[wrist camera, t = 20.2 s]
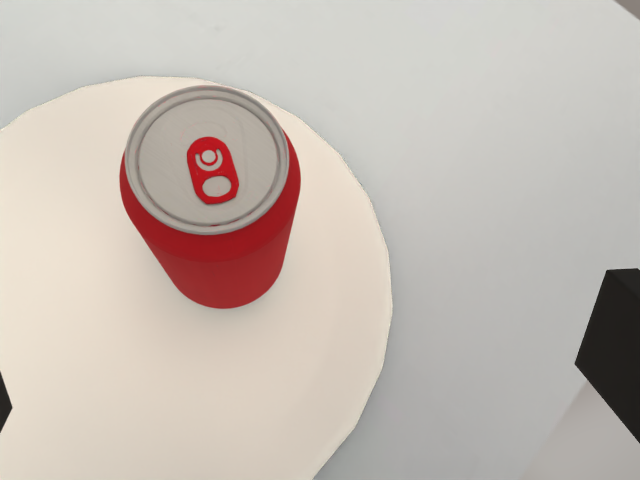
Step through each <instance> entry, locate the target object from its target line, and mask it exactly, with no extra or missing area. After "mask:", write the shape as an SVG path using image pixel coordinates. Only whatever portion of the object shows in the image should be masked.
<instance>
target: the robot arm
mask: <svg viewBox="0 0 640 480" xmlns="http://www.w3.org/2000/svg"><path fill="white" fill-rule="evenodd" d="M575 365H576V366H577V367H578V369H579V370H580V371H581V372H582V373H583V375H584V376H585V377H586V378H587V380H588V381H589V382H590V383H591V384H592V386H593V387H594V388H595V389H596V391H597V392H598V393H599V394H600V395H601V397H602V398H603V399H604V400H605V402H606V403H607V404H608V405H609V406H610V408H611V409H612V410H613V411H614V413H615V414H616V415H617V416H618V417H619V419H620V420H621V421H622V422H623V423H624V425H625V426H626V427H627V428H628V430H629V431H630V432H631V433H632V434H633V436H634V437H635V438H636V439H637V441H638V442H639V443H640V270H639V269H638V268H635V269H615V270H607V271H606V273H605V276H604V279H603V282H602V285H601V288H600V291H599V294H598V297H597V300H596V303H595V305H594V308H593V311H592V314H591V317H590V320H589V323H588V326H587V329H586V332H585V335H584V338H583V340H582V343H581V346H580V349H579V352H578V355H577V358H576V361H575ZM12 408H13V407H12V404H11V401H10V398H9V395H8V392H7V389H6V386H5V383H4V380H3V378H2V375H1V372H0V433H1V431H2V429H3V427H4V424H5V422H6V420H7V418H8V416H9V414H10V412H11V410H12Z"/></svg>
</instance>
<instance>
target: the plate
mask: <svg viewBox="0 0 640 480" xmlns="http://www.w3.org/2000/svg"><path fill="white" fill-rule="evenodd" d="M197 85H216V86H223V87H228V88H232V89H235V90H238V91H241V92H243V93H245V94H247V95H249V96H251V97H252V98H254V99H256V100H257V101H259V102H260V103H261V104H262V105H263V106H265V107H266V108H267V109H268V110H269V111H270V112H271V113H272V115H273V116H274V117H275V118H276V120H277V121H278V123H279V124H280V126H281V127H282V129H283V130H284V131H285V133H286V134H287V136H288V137H289V139H290V141H291V143H292V145H293V147H294V149H295V151H296V154H297V158H298V161H299V166H300V173H301V187H300V194H299V198H298V203H297V207H296V211H295V216H294V220H293V224H292V228H291V233H290V237H289V241H288V245H287V250H286V254H285V258H284V262H283V266H282V269H281V272H280V274H279V276H278V278H277V280H276V281H275V283H274V284H273V285H272V287H271V288H270V289H269V290H268V291H267V292H266V293H265V294H263V295H262V296H261V297H260V298H258V299H256V300H255V301H253V302H251V303H249V304H246V305H244V306H241V307H236V308H230V309H217V308H210V307H206V306H203V305H200V304H198V303H196V302H194V301H192V300H190V299H189V298H187V297H186V296H185V295H183V294H182V293H181V292H180V291H179V290H178V289H177V287H176V286H175V285H174V284H173V282H172V281H171V279H170V278H169V276H168V275H167V273H166V272H165V270H164V269H163V267H162V266H161V264H160V263H159V261H158V260H157V258H156V257H155V256H154V254H153V253H152V251H151V250H150V248H149V247H148V245H147V244H146V242H145V241H144V239H143V238H142V236H141V235H140V233H139V232H138V230H137V229H136V227H135V226H134V225H133V223H132V222H131V220H130V218H129V216H128V214H127V212H126V210H125V208H124V205H123V202H122V198H121V193H120V182H119V174H120V165H121V160H122V156H123V153H124V151H125V148H126V144H127V140H128V137H129V134H130V132H131V130H132V128H133V126H134V124H135V123H136V121H137V119H138V118H139V117H140V116H141V114H142V113H143V112H144V111H145V110H146V109H147V108H148V107H149V106H150V105H151V104H152V103H154V102H155V101H157V100H158V99H160V98H161V97H163V96H165V95H167V94H169V93H171V92H174V91H176V90H179V89H183V88H187V87H191V86H197ZM392 312H393V302H392V289H391V277H390V265H389V253H388V249H387V246H386V243H385V240H384V237H383V235H382V232H381V229H380V226H379V223H378V221H377V218H376V215H375V212H374V209H373V206H372V204H371V201H370V198H369V197H368V195H367V194H366V192H365V191H364V189H363V188H362V186H361V185H360V184H359V182H358V181H357V179H356V178H355V176H354V175H353V173H352V172H351V170H350V169H349V167H348V166H347V164H346V163H345V161H344V160H343V158H342V157H341V155H340V154H339V153H338V152H337V151H336V150H335V149H334V148H332V147H331V146H330V145H329V144H328V143H327V142H326V141H325V140H323V139H322V138H321V137H320V136H319V135H318V134H317V133H316V132H315V131H313V130H312V129H311V128H310V127H309V126H308V125H307V124H306V123H304V122H303V121H302V120H301V119H300V118H299V117H297V116H295V115H293V114H291V113H289V112H287V111H286V110H284V109H282V108H280V107H278V106H276V105H274V104H272V103H271V102H269V101H267V100H265V99H263V98H261V97H259V96H257V95H256V94H254V93H252V92H249V91H245V90H241V89H237V88H234V87H230V86H226V85H222V84H219V83H215V82H211V81H207V80H204V79H200V78H186V77H158V76H137V77H132V78H127V79H121V80H116V81H110V82H105V83H100V84H94V85H89V86H84V87H81V88H79V89H76V90H74V91H72V92H69V93H67V94H65V95H62V96H60V97H57V98H55V99H53V100H50V101H48V102H46V103H43V104H41V105H39V106H36V107H34V108H32V109H29V110H27V111H26V112H24V113H23V114H22V115H20V116H19V117H18V118H16V119H15V120H13V121H12V122H11V123H9V124H8V125H7V126H5V127H4V128H2V129H1V130H0V372H1V375H2V378H3V380H4V383H5V386H6V389H7V392H8V395H9V398H10V401H11V404H12V407H13V408H12V410H11V412H10V414H9V416H8V418H7V420H6V422H5V424H4V427H3V429H2V431H1V433H0V480H312V479H313V478H314V476H315V475H316V474H317V473H318V471H319V470H320V469H321V468H322V467H323V465H324V464H325V463H326V462H327V461H328V459H329V458H330V457H331V456H332V455H333V453H334V452H335V451H336V450H337V449H338V447H339V446H340V445H341V444H342V442H343V441H344V440H345V439H346V438H347V436H348V435H349V434H350V433H351V432H352V430H353V429H354V428H355V427H356V425H357V422H358V420H359V418H360V416H361V414H362V412H363V409H364V407H365V405H366V403H367V401H368V399H369V396H370V394H371V392H372V390H373V388H374V386H375V384H376V381H377V379H378V377H379V375H380V373H381V371H382V368H383V363H384V357H385V351H386V346H387V340H388V335H389V329H390V323H391V318H392Z"/></svg>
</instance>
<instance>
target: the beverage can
mask: <svg viewBox="0 0 640 480" xmlns="http://www.w3.org/2000/svg"><path fill="white" fill-rule="evenodd" d="M119 182H120V193H121V198H122V202H123V205H124V208H125V210H126V212H127V214H128V216H129V218H130V220H131V222H132V223H133V225H134V226H135V227H136V229H137V230H138V232H139V233H140V235H141V236H142V238H143V239H144V241H145V242H146V244H147V245H148V247H149V248H150V250H151V251H152V253H153V254H154V256H155V257H156V258H157V260H158V261H159V263H160V264H161V266H162V267H163V269H164V270H165V272H166V273H167V275H168V276H169V278H170V279H171V281H172V282H173V284H174V285H175V286H176V287H177V289H178V290H179V291H180V292H181V293H182V294H183V295H185V296H186V297H187V298H189V299H190V300H192V301H194V302H196V303H198V304H200V305H203V306H206V307H210V308H217V309H230V308H236V307H241V306H244V305H246V304H249V303H251V302H253V301H255V300H256V299H258V298H260V297H261V296H262V295H263V294H265V293H266V292H267V291H268V290H269V289H270V288H271V287H272V285H273V284H274V283H275V281H276V280H277V278H278V276H279V274H280V272H281V269H282V266H283V262H284V258H285V254H286V250H287V245H288V241H289V237H290V233H291V228H292V224H293V220H294V216H295V211H296V207H297V203H298V198H299V194H300V187H301V173H300V166H299V161H298V158H297V154H296V151H295V149H294V147H293V145H292V143H291V141H290V139H289V137H288V136H287V134H286V133H285V131H284V130H283V129H282V127H281V126H280V124H279V123H278V121H277V120H276V118H275V117H274V116H273V115H272V113H271V112H270V111H269V110H268V109H267V108H266V107H265V106H263V105H262V104H261V103H260V102H259V101H257V100H256V99H254V98H252V97H251V96H249V95H247V94H245V93H243V92H241V91H238V90H235V89H232V88H228V87H223V86H216V85H197V86H191V87H187V88H183V89H179V90H176V91H174V92H171V93H169V94H167V95H165V96H163V97H161V98H160V99H158V100H157V101H155V102H154V103H152V104H151V105H150V106H149V107H148V108H147V109H146V110H145V111H144V112H143V113H142V114H141V116H140V117H139V118H138V119H137V121H136V123H135V124H134V126H133V128H132V130H131V132H130V134H129V137H128V140H127V144H126V148H125V151H124V153H123V156H122V160H121V165H120V174H119Z"/></svg>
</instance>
